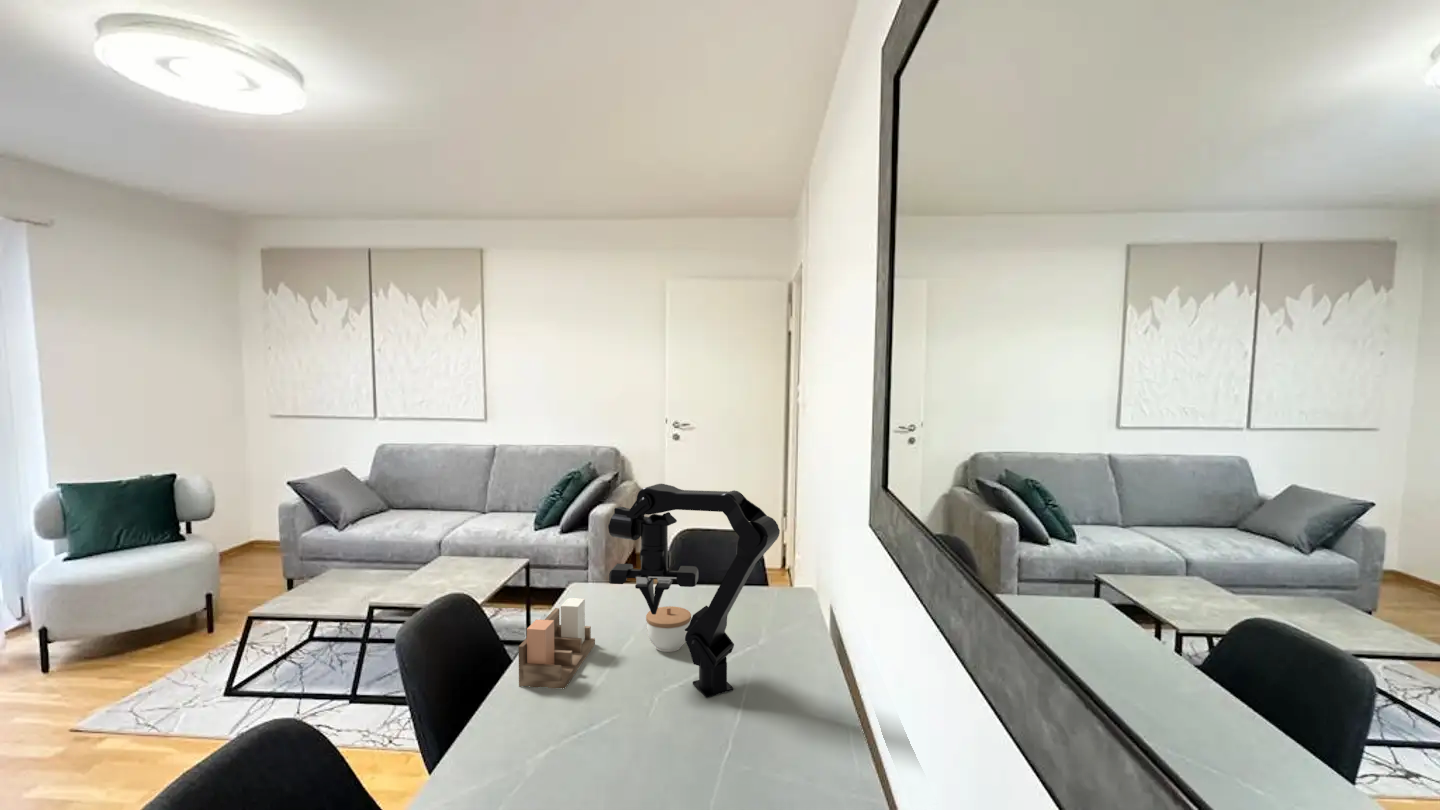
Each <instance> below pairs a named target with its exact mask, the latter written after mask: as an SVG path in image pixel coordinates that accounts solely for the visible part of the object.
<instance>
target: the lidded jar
mask: <svg viewBox="0 0 1440 810" xmlns="http://www.w3.org/2000/svg"><path fill="white" fill-rule="evenodd" d="M691 618H692V614H691V611H689V610H688V609H686V608H684V607H681V606H680V607H679V606H671V605H669V606H660V607H659V606H658V609H657V613H656V614H652V613H651V611H650V610H649V611H648V612H647V613H646V615H645V621H646V632H647V636H648V639H649V641H650V643H652V645H653V646H654V647H655V648H656V649H657V651H660V652H663V653H672V652H677V651H678V650H680V649H681V648H682V646H683V645H684V644H685V643H686V641H685V636H686V633H687V631H685V629H686V628H687V627H688V626H689V624H690V621H691Z"/></svg>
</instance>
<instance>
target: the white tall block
mask: <svg viewBox="0 0 1440 810" xmlns="http://www.w3.org/2000/svg"><path fill="white" fill-rule="evenodd" d="M585 605H586V599H585V598H577V597H574V598H573V597H568V598H567V599H566V600H565V601H564V602H563V603H562V604H561V605H560V625H561V637H568V638H582V643H583V642H584V640H585V626H586V614H585V613H586V606H585Z"/></svg>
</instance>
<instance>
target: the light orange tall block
mask: <svg viewBox="0 0 1440 810" xmlns="http://www.w3.org/2000/svg"><path fill="white" fill-rule="evenodd" d="M526 638H527V663H530V664H549V665H554V620H544V619H539V618H538V619H535V620H534V621H532V623H531V624H530V625H529V626H528V627H527V628H526Z"/></svg>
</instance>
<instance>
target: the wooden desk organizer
mask: <svg viewBox="0 0 1440 810" xmlns="http://www.w3.org/2000/svg"><path fill="white" fill-rule="evenodd" d="M543 620H554V665H549V664H530V663H527V637H526V638H525V639H524V640H523V641H522V642H521V643H520V644H519V645H518V687H521V686H530V687H529V688H538V687H548V688H547V689H556V688H562V690H565V689H566V688H567V687H568V685H569V683H570V682H571V680H572V679H573V677H574V676H575V675H576V673H577V671H578V670H579V669H580V667H581V665H582V664H583V662H584V661H585V660H586V658H587V657H588V655H590V653H591V651H592V650H593V648H594V647H595V645H596V638H595V637H592V636H591V635H592V634H591V632H592V629H591V625H589V626H588V625H585V640H584V642H583V643H582V638H568V637H561V622H560V608H559V607H555V608H554V609H553V610H552V611H551V612H550V613H548V615H547V616H546V617H545V618H544V619H543ZM574 674H575V675H574ZM569 681H570V682H569ZM567 684H568V685H567ZM565 687H566V688H565ZM563 688H564V689H563Z"/></svg>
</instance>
